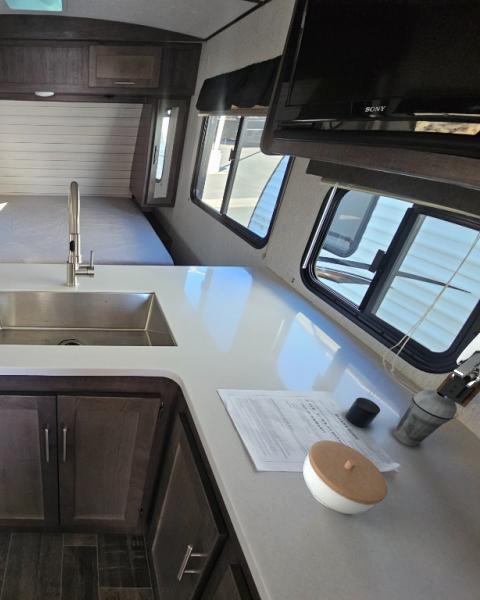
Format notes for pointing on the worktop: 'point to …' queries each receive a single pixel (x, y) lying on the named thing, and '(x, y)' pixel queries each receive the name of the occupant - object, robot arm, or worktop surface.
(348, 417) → the black cylinder
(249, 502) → the worktop surface
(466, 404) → the walnut block
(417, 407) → the beverage cup
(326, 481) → the lidded bowl
